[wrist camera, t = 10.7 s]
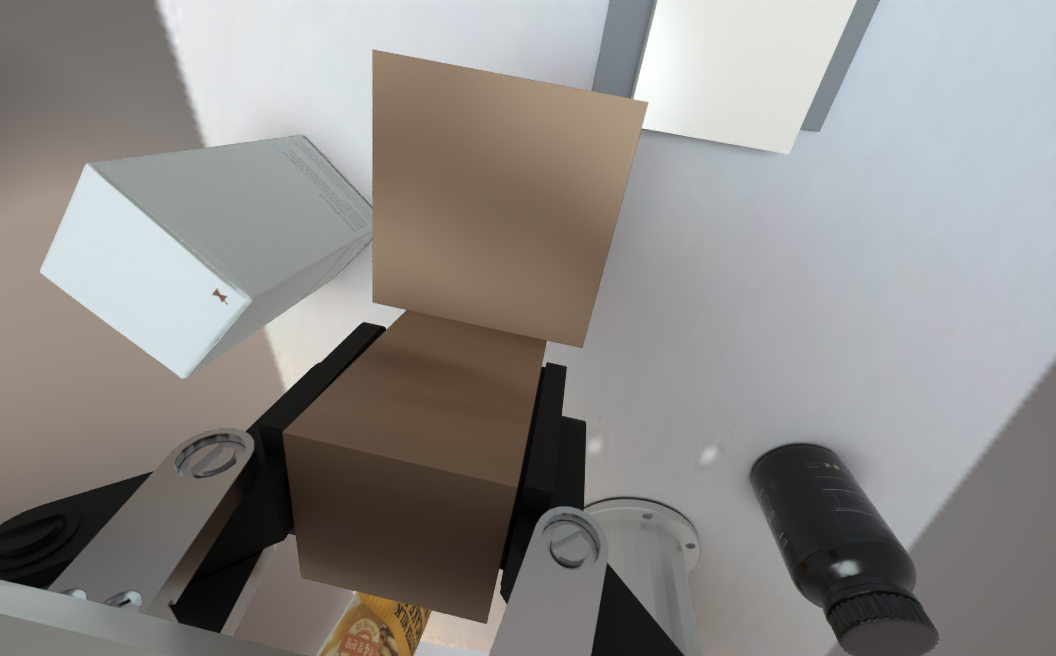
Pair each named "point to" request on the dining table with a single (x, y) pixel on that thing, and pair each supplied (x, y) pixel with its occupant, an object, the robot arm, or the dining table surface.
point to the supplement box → (205, 243)
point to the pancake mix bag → (375, 628)
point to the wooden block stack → (456, 325)
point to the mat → (629, 32)
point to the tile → (736, 67)
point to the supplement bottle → (842, 553)
